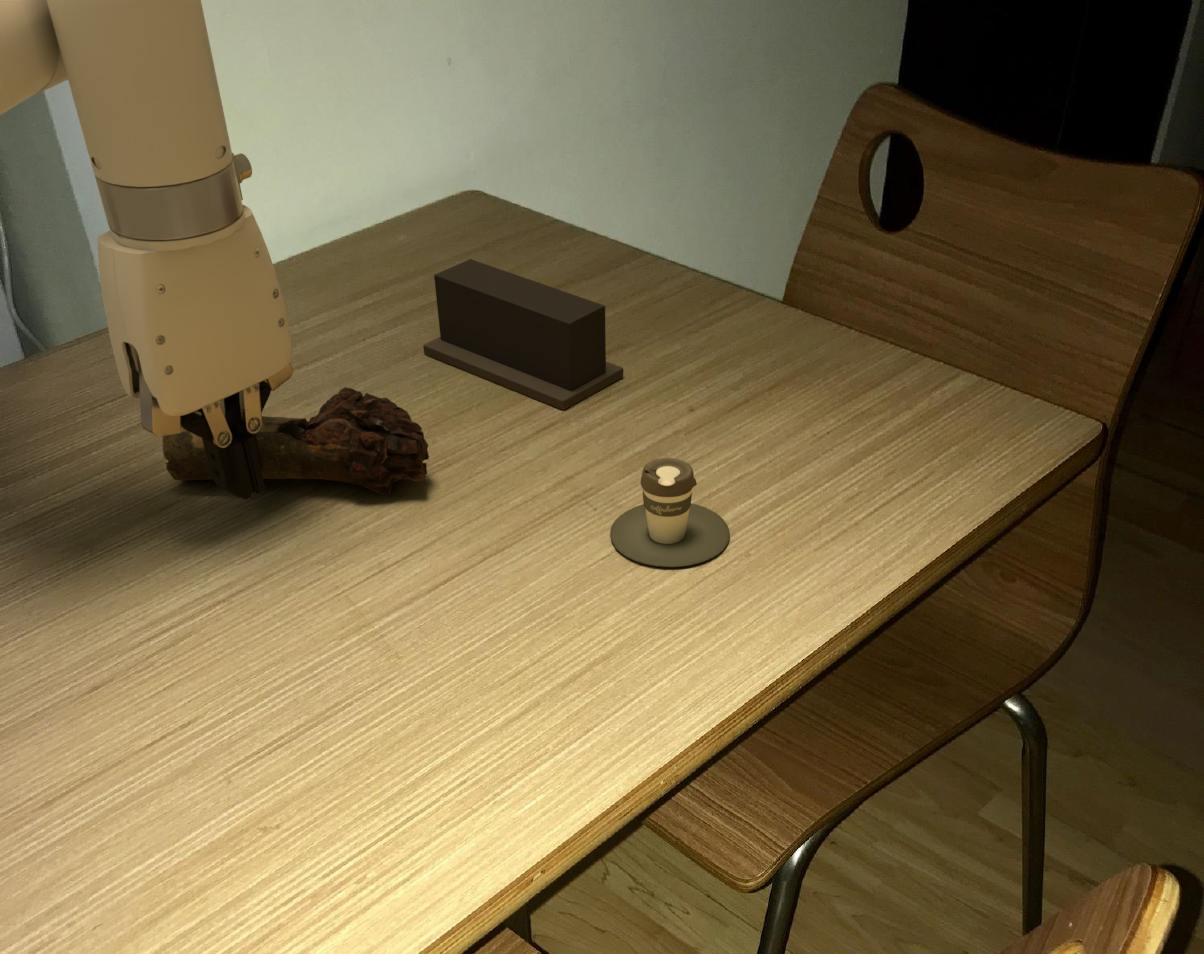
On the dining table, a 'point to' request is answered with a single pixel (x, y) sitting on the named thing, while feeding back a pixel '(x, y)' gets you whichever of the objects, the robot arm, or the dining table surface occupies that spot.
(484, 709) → the dining table surface
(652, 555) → the coffee cup
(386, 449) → the gnarled wood log
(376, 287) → the dining table surface
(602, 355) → the dark brown block stand
